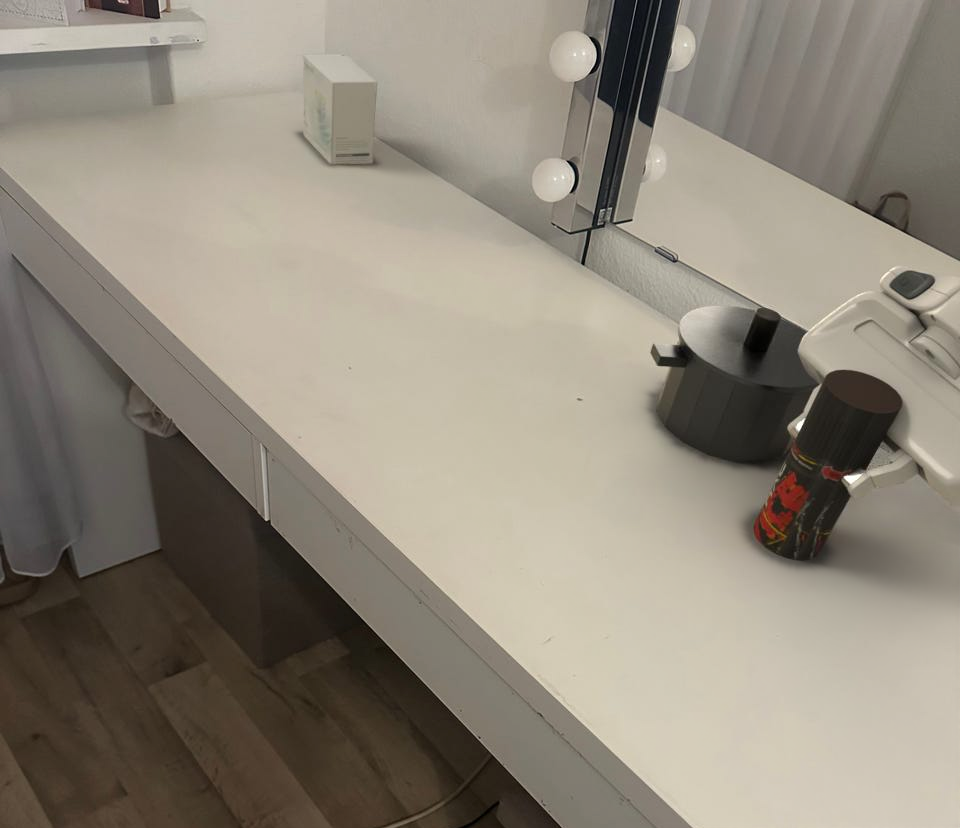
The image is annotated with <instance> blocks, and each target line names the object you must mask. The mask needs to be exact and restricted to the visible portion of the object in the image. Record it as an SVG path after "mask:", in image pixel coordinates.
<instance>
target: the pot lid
mask: <svg viewBox="0 0 960 828" xmlns="http://www.w3.org/2000/svg"><path fill="white" fill-rule="evenodd" d="M807 332H808V331H805V330H804V329H803V328H801V327H799V326H797V325H795V324H793V323H791V322H789V321H787V320H785V319H782V316H781V314H780V313H778V312H777V311H775V310H774V309H771V308H767V307H758V308H756V309H751V308H745V307H742V306H734V305H733V306H732V305H707V306H701V307H698V308H695V309H692V310H690V311H688V312H687V313H686V314H684V315H683V317H682V318H681V319H680V321H679V324H678V328H677V336H678V341H679V340H680V342H681V344H682V345H683V347H684V348H685V350H686V351H687V352H688V353H689V354H690V355H691V356H692V357H693V358H694V359H696V360H697V361H698V362H699V363H701V364H702V365H704V366H705V367H707V368H708V369H710V370H712V371H713V372H715V373H717V374H719V375H721V376H723V377H726V378H728V379H730V380H733V381H735V382H738V383H741V384H744V385H747V386H751V387H754V388H759V389H763V390H769V391H776V392H803V391H809V390H812V389H815V388H816V387H818V386H819V385H820V384H819V383H818V382H817V381H816V380H815V379H813V378H812V377H811V376H810V375H809V374H808V373H807V372H806V370H805V368H804V366H803V364H802V362H801V360H800V357H799V355H798V348H799V345H800V342H801V340H802V338H803V336H804V335H805V334H806V333H807Z"/></svg>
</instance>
